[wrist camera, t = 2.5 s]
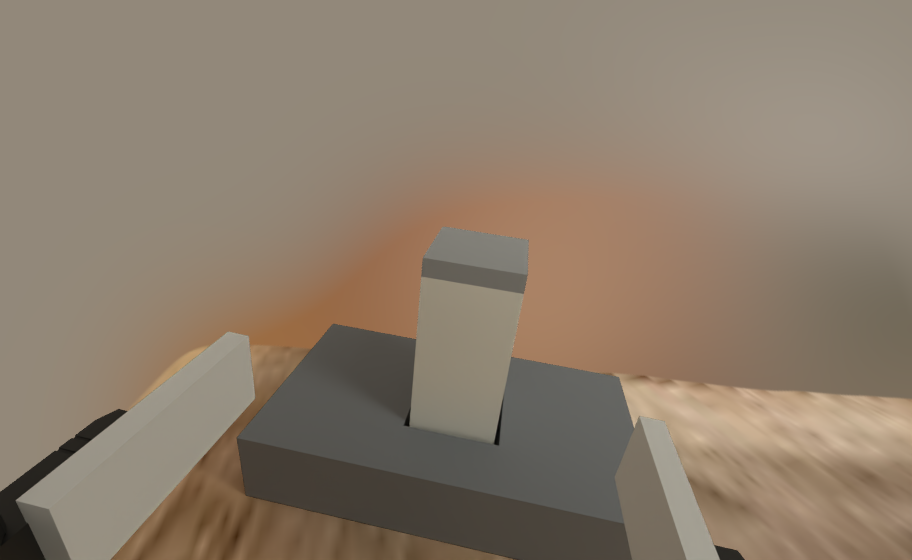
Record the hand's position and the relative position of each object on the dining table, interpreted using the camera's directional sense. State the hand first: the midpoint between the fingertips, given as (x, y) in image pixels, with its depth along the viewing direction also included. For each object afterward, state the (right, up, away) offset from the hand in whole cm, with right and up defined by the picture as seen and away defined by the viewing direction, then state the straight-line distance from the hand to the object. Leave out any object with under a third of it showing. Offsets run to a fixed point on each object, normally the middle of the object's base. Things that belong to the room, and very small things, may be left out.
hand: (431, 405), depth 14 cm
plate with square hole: (0, -8, +14) cm, 16 cm away
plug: (+1, -7, +14) cm, 15 cm away
